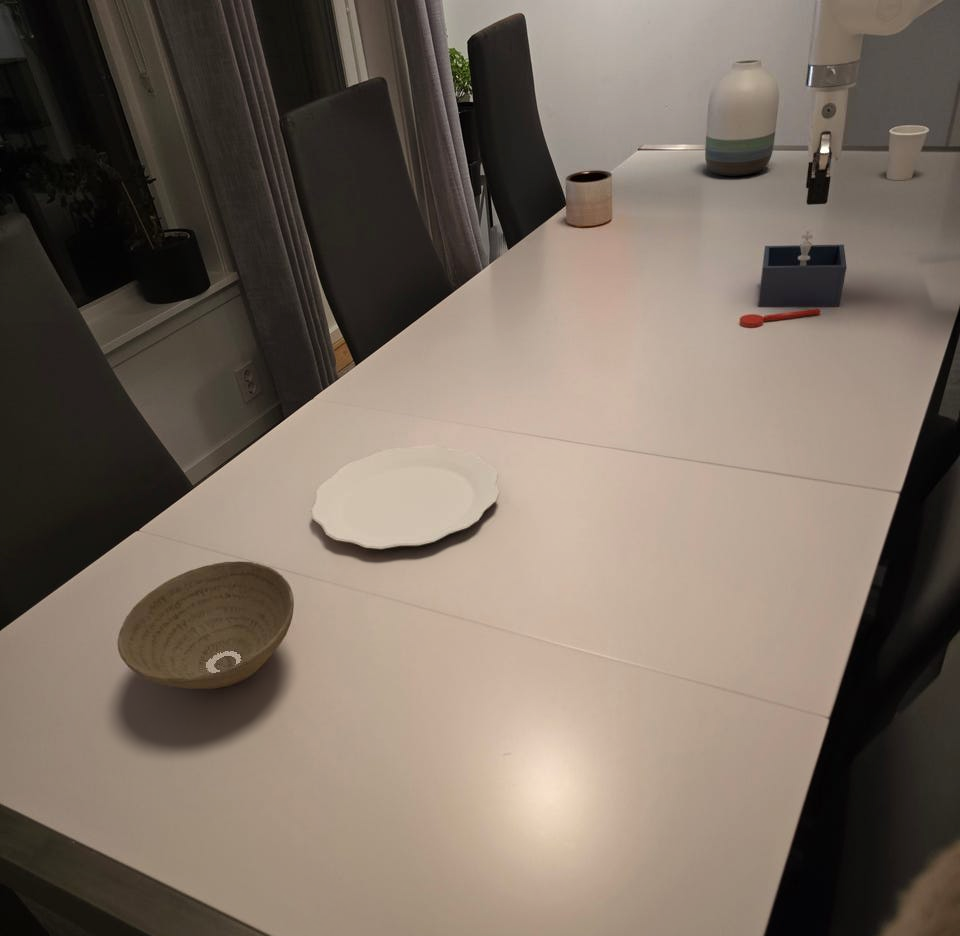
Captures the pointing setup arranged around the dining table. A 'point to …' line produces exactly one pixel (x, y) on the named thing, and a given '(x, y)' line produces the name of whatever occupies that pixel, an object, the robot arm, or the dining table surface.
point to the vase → (742, 120)
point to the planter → (589, 198)
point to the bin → (802, 276)
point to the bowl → (208, 625)
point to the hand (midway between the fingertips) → (816, 195)
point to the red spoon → (774, 317)
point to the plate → (405, 497)
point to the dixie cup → (904, 151)
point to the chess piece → (805, 249)
